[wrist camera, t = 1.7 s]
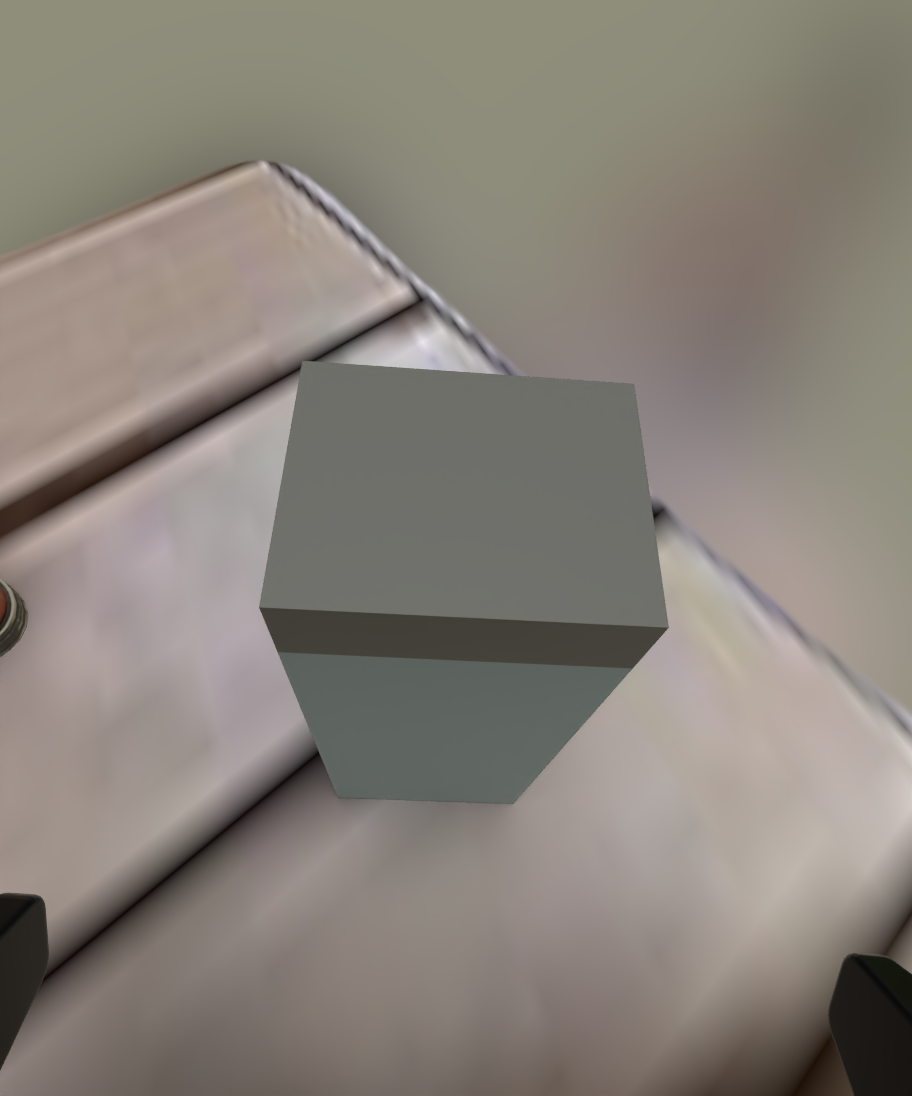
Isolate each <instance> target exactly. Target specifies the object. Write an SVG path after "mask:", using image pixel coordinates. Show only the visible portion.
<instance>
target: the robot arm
mask: <svg viewBox="0 0 912 1096" xmlns="http://www.w3.org/2000/svg"><path fill="white" fill-rule="evenodd" d="M48 959H49V947H48V934H47V921H46V908H45V903H44V901H43V899H42V898H41V897H40V896H38V895H34V894H19V893H3V894H0V1070H1V1068H2V1066H3V1064H4V1062H5V1059H6V1057H7V1055H8V1053H9V1051H10V1049H11V1047H12V1045H13V1042H14V1040H15V1038H16V1036H17V1034H18V1032H19V1030H20V1027H21V1025H22V1023H23V1021H24V1019H25V1017H26V1015H27V1013H28V1010H29V1008H30V1006H31V1004H32V1002H33V1000H34V998H35V996H36V993H37V991H38V989H39V987H40V985H41V983H42V980H43V978H44V975H45V972H46V969H47V965H48ZM828 1017H829V1025H830V1029H831V1033H832V1036H833V1039H834V1042H835V1044H836V1047H837V1050H838V1053H839V1055H840V1058H841V1061H842V1064H843V1066H844V1069H845V1072H846V1075H847V1077H848V1080H849V1083H850V1086H851V1088H852V1091H853V1094H854V1096H912V974H911V973H909V972H908V971H907V970H905V969H904V968H903V967H901V966H900V965H899V964H897V963H896V962H895V961H893V960H892V959H890V958H888V957H886V956H883V955H878V954H865V953H851V954H849V955H847V956H846V957H845V958H844V960H843V962H842V965H841V969H840V972H839V975H838V978H837V982H836V985H835V988H834V991H833V995H832V998H831V1001H830V1005H829V1014H828Z"/></svg>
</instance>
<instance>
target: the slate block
mask: <svg viewBox="0 0 912 1096" xmlns="http://www.w3.org/2000/svg"><path fill="white" fill-rule="evenodd" d="M259 608H260V610H261V613H262V615H263V618H264V620H265V623H266V625H267V627H268V630H269V632H270V635H271V637H272V639H273V642H274V644H275V647H276V649H277V652H278V654H279V656H280V659H281V661H282V664H283V666H284V668H285V671H286V673H287V676H288V678H289V681H290V683H291V685H292V688H293V690H294V693H295V695H296V697H297V700H298V702H299V705H300V707H301V710H302V712H303V714H304V717H305V719H306V722H307V724H308V726H309V729H310V731H311V734H312V736H313V739H314V741H315V743H316V746H317V748H318V751H319V753H320V755H321V758H322V760H323V763H324V765H325V768H326V770H327V772H328V775H329V777H330V780H331V782H332V784H333V787H334V789H335V792H336V794H337V797H338V798H360V799H389V800H418V801H447V802H477V803H506V804H513V803H514V802H515V801H516V800H517V799H518V798H519V797H520V795H521V794H522V793H523V792H524V791H525V790H526V789H527V788H528V786H529V785H530V784H531V783H532V782H533V781H534V780H535V778H536V777H537V776H538V775H539V774H540V773H541V772H542V771H543V769H544V768H545V767H546V766H547V765H548V764H549V763H550V761H551V760H552V759H553V758H554V757H555V756H556V755H557V754H558V752H559V751H560V750H561V749H562V748H563V747H564V746H565V744H566V743H567V742H568V741H569V740H570V739H571V738H572V737H573V735H574V734H575V733H576V732H577V731H578V730H579V729H580V727H581V726H582V725H583V724H584V723H585V722H586V721H587V720H588V718H589V717H590V716H591V715H592V714H593V713H594V712H595V710H596V709H597V708H598V707H599V706H600V705H601V704H602V703H603V701H604V700H605V699H606V698H607V697H608V696H609V695H610V693H611V692H612V691H613V690H614V689H615V688H616V687H617V686H618V684H619V683H620V682H621V681H622V680H623V679H624V678H625V676H626V675H627V674H628V673H629V672H630V671H631V670H632V669H633V667H634V666H635V665H636V664H637V663H638V662H639V661H640V659H641V658H642V657H643V656H644V655H645V654H646V653H647V652H648V650H649V649H650V648H651V647H652V646H653V645H654V644H655V643H656V641H657V640H658V639H659V638H660V637H661V636H662V635H663V633H664V632H665V631H666V630H667V629H668V628H669V626H668V619H667V612H666V605H665V598H664V591H663V584H662V577H661V570H660V563H659V556H658V549H657V542H656V535H655V528H654V521H653V514H652V507H651V500H650V492H649V485H648V478H647V471H646V464H645V457H644V451H643V443H642V436H641V429H640V422H639V415H638V408H637V401H636V394H635V387H634V384H626V383H613V382H612V383H611V382H599V381H584V380H583V381H582V380H570V379H555V378H540V377H527V376H512V375H498V374H483V373H469V372H455V371H440V370H426V369H411V368H397V367H383V366H368V365H354V364H340V363H325V362H311V361H302V367H301V372H300V378H299V384H298V390H297V395H296V401H295V407H294V412H293V418H292V424H291V429H290V435H289V441H288V446H287V452H286V458H285V463H284V469H283V475H282V481H281V486H280V492H279V498H278V503H277V509H276V515H275V520H274V526H273V532H272V537H271V543H270V549H269V555H268V560H267V566H266V572H265V577H264V583H263V589H262V594H261V600H260V606H259Z"/></svg>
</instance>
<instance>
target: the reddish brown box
mask: <svg viewBox="0 0 912 1096" xmlns="http://www.w3.org/2000/svg"><path fill="white" fill-rule="evenodd" d="M27 617H28V612H27V609H26V606H25V602H24V601H23V600H22V598H21V597H20V596H19V595H18V594H17V592H16V591H14V590H13V589H12V588H11V587H10V586H9V585H8V584H7V583H6V582H5V581H3V580H2V579H0V657H1V656H2V655H4V654H5V653H6V652H8V651H9V650H10V649H11V648H12V647H13V646H14V645H15V644H16V643H17V642H18V641H19V640H20V639H21V637H22V635H23V633H24V631H25V629H26V626H27Z"/></svg>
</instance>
